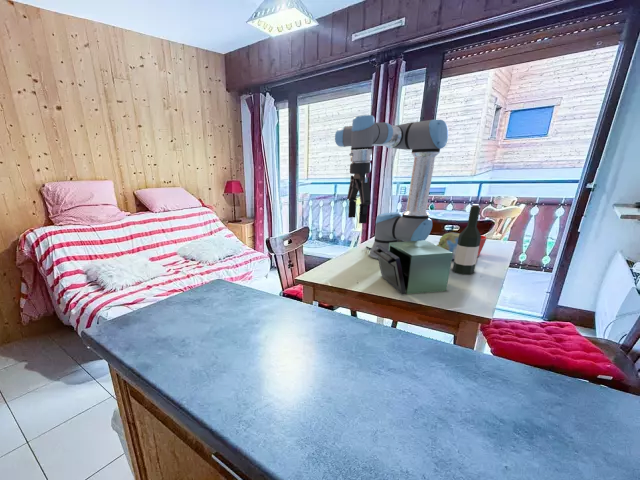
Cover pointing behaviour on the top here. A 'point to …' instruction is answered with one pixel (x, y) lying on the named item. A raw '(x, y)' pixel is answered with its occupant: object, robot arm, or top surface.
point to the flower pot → (481, 244)
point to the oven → (423, 265)
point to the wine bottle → (468, 244)
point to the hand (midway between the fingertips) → (356, 220)
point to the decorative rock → (449, 242)
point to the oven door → (390, 268)
